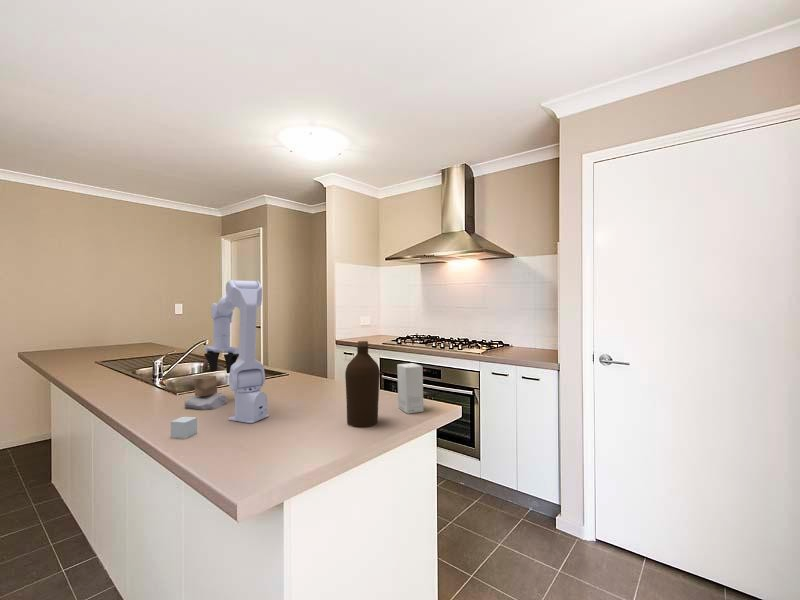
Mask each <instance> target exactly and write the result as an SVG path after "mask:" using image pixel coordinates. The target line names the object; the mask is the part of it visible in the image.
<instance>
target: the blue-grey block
mask: <svg viewBox="0 0 800 600" xmlns="http://www.w3.org/2000/svg"><path fill="white" fill-rule="evenodd" d="M197 433H198V417H196V416H195V417H194V416H193V417H191V416H181V417H178V418H176V419H173V420H171V421H170V438H172V439H181V440H182V439H183V440H186V439H188V438H190V437H192V436H194V435H196V434H197Z"/></svg>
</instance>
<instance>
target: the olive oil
mask: <svg viewBox="0 0 800 600" xmlns="http://www.w3.org/2000/svg"><path fill="white" fill-rule="evenodd" d="M368 344H369V342H368V340H359V341H357V346H356V347H357V349H356V351H357V352H356V355H355V356H354V357H353V358H352V359H351V360H350V361H349V363H348V364H347V366H346V369H345V375H344V377H345V393H346V394H345V396H346V397H345V398H346V399H345V400H346V423H347V425H349V426H350V427H354V428H368V427H373V426H375V425H377V424H378V423H379V422H378V421H379V397H380V395H379V394H380V379H381V372H380V371H381V370H380V367H379V365H378V363H377V362H376V360H374V358H372V356H371V355H370V354H369V345H368Z"/></svg>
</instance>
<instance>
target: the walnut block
mask: <svg viewBox="0 0 800 600" xmlns="http://www.w3.org/2000/svg"><path fill="white" fill-rule="evenodd" d="M193 387H194V396H208V395H211V394H214V393H218V385H217V375H205V376H200V377H197V378H193Z"/></svg>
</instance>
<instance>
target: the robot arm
mask: <svg viewBox="0 0 800 600" xmlns="http://www.w3.org/2000/svg"><path fill="white" fill-rule="evenodd" d="M262 301H263V287H262V285H261V282H260V281H259V280H238V279H237V280H233V279H229V280H227V282H226V284H225V294H224V295H223V296H221V298H220V299H219V300H218V302H217V303H216V302H213V303H212V304H211V307H210V315H211V318H212V321H213V322H212V323H213V324H212V325H213V326H212V327H213V328H212V329H213V335H212V336H213V338H212V345H211V346H210V345H207V346H204V353H203V356H204V358H205V359H206V361H207V362H208V366H209V370H210V372H212V373H213V372H217V370H218V361H219V357H220V353H222V354H223V353H224V354H223V358H224V360H225V369H226V374H229V375H228V385H229V388H230V390H231V391H233V392H234V415H233V416H230V417H228V418H227V419H228V420H229V421H234V422H240V423H248V424H253V423H256V422H259V421H260V420H263V419H265V418H267V417H270V414H268V397H267V396H268V395H267V394H266V393H265V392H264V391H261V390H262V387H263V386H264V384H265V383H266V373H265V366H264V364H263V363H262V362H261V361H259V360H258V359H256V347H257V346H256V344H257V343H256V341H257V339H256V336H257V335H256V334H257V333H256V332H257V310H258V308H259V307H260V306H261V305H262ZM236 308H238V309H239V341H238V342H239V343H238V346H239V347H233V346H231V324H232V321H233V320H232V319H233V313H234V310H235V309H236Z"/></svg>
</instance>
